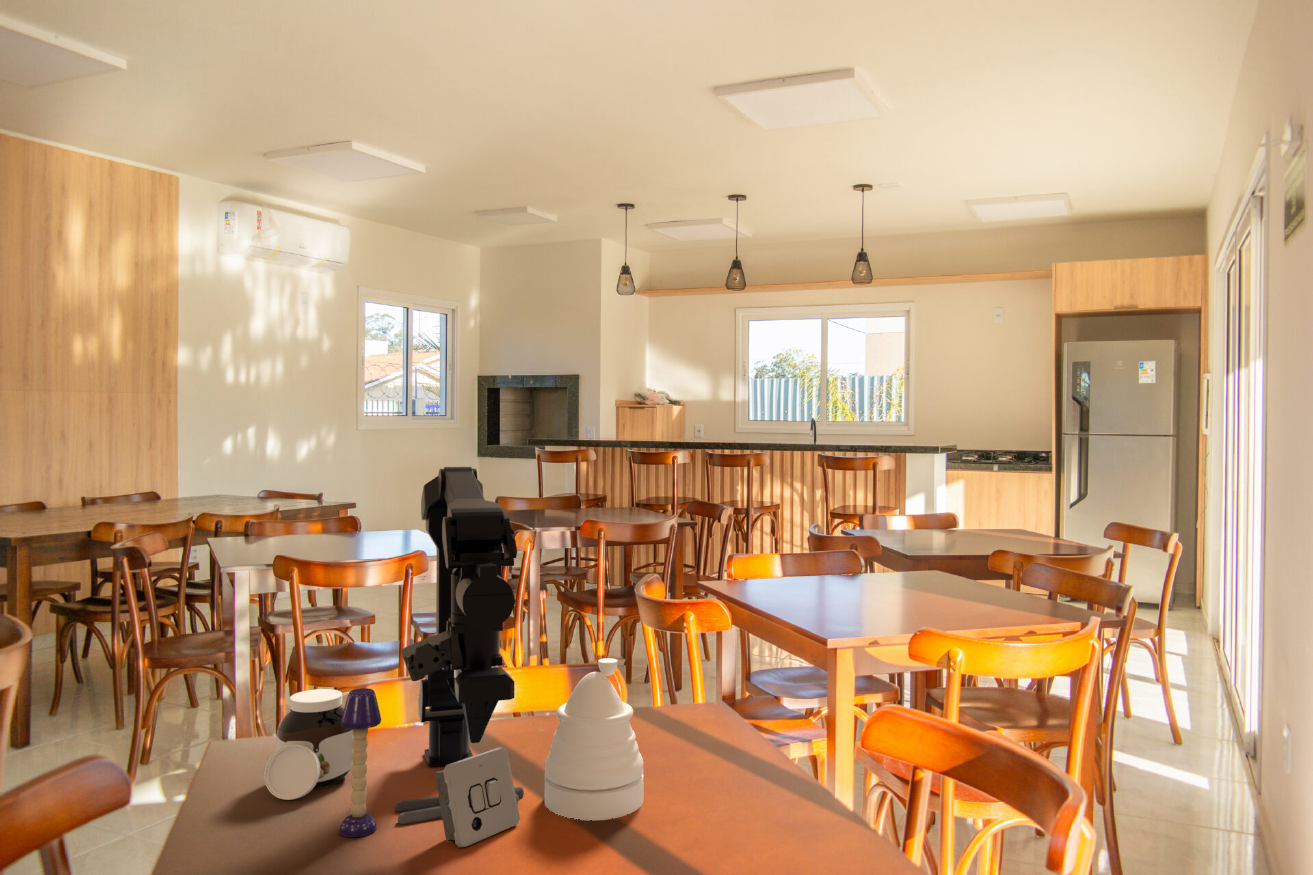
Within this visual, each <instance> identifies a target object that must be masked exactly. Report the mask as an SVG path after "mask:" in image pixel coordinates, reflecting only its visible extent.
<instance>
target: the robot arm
mask: <svg viewBox="0 0 1313 875" xmlns="http://www.w3.org/2000/svg"><path fill="white" fill-rule="evenodd" d="M483 486H484V485H483V483H482V482H481V481H480V480H479V479H478V471H477V468H472V467H471V466H444V467H443V468H439V470H438V474H437V476H435V477H434V478H432V479H431V480H430V481H428V482H426V483H425V484H424V485H423V488H422V492H421V499H420V500H421V501H420V514H421V521H425V530H426V533H427V534H428V536H429V537H430V539H431V541H432V543H433V544H434V545H435V548H436V570H435V572H436V580H435V581H436V583H435V584H436V587H435V588H436V594H435V595H436V599H435V600H436V602H435V603H436V604H435V605H436V606H435V610H436V612H435V614H436V616H435V618H436V619H435V622H436V624H435V625H436V626H435V629H436V631H435V634H434V635H431V636H428V637H426V638H424V639H422V640H419V641H417V642H415V643H412V644H409V645H407V646H405V647H404V648H402V649H401V650H400V653H401V656H402V658H403V661H404V664H405V666H406V670H407V671H408V675H409V677H410V680H411V682H416V681H420V684H419V693H418V715H419V719H420V723H426V722H427V723H428V748H426V749H424V753H423V754H424V757H425V759H426V764H427V766H428V767H437V766H446V765H448V764H451V763H454V762H457V761H460V760H463V759H466V758H469V757H472V756H474V755H473V753H472V751H471V747H470V745H469V743H471V744H478V743H481V740H482V739H483V736H484V734H485V731H486V729H487V727H488V725H489V722H490V721H491V718H492V716H493V713H494V711H495V709H496V707H497V705H498V703H499V701H510V700H511V701H512V700H514V699H515V680H514V678H512V675H510V674H509V673H508V672H507V671H506V670H505V669H504V668H503V667H502V666H503V664H504V662H503V659H504V658H503V657H504V656H502V654H501V653H500V645H501V644H500V642H501V641H500V637H501V636H500V634H501V632H503V630H504V626H503V625H504V623H505V622H506V620H508V619H509V617H510V616H511V614H512V613H513V610H514V609H515V608H514V607H515V602H516V600H515V598H516V597H515V594H514V591H513V588H512V587H511V586H510V583H508V582H507V581H506V580H505V579H504V578H503V577H502V568H503V567H514V566H515V559H517V555H518V547H517V541H516V536H515V531H514V526H513V524H512V523H511V522H510V521H511V520H510V519H511V518H510V517H509V515H505V512H504V509H503V507H502V506H500V504H499V503H498V502H494V501H491V500H490V501H489V500H486V499H485V496H484V488H483ZM469 741H470V742H469Z"/></svg>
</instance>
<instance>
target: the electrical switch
mask: <svg viewBox="0 0 1313 875" xmlns="http://www.w3.org/2000/svg"><path fill="white" fill-rule="evenodd" d="M444 766H445V767H444V769H442V770H439V771H436V772H434V778H435V784H436V789H437V794H438V795H437V796H439V802H440V808H441V814H442V818H441V819H442V824H443V829H444V830H443V831H444V835H445V836H444V837H445V840H449V841H450V840H453V841H454V843H455V845H456V846H457V847H458V848H466V847H469V846H472V845H473V844H475V843H478V842H480V841H483V840H485V839H487V838H489V837H491V836H494V835H496V834H498V833H500V832H502V831H503V832H504V831H505V830H508V829H510V828H513V827H514V826H517V825H518V824H519V822H520V820H521V818H520V811H519V807H518V803H517V800H516V795H515V789H514V787H515V785H514V780H513V779H514V778H513V774H512V768H511V762H510V757H509V754H508V750H507V749H506V748H505V747H496V748H493V749H490V750H488V751H485V752H481V753H478V754H476V755H473V756H472V757H469V758H466V759H463V760H460V761H457V762H454V763H451V764H448V765H444ZM447 797H448V799H447ZM447 803H449V807H450V810H449V808H448V805H447ZM449 813H451V814H449Z"/></svg>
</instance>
